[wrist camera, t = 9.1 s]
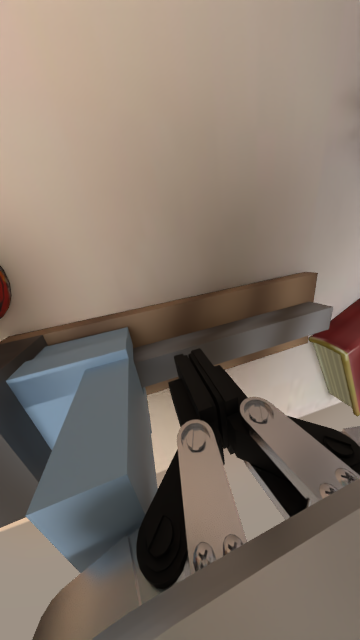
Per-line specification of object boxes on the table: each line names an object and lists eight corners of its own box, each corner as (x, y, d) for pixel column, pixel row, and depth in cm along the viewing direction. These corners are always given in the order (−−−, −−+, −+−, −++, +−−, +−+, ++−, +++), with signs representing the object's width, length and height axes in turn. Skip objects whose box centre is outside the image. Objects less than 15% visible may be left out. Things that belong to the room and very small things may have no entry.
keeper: (126, 324, 11) (120, 460, 4) (146, 392, 14) (169, 568, 6) (43, 343, 10) (-214, 590, 3) (79, 414, 12) (-2, 662, 5)
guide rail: (304, 272, 16) (406, 278, 10) (296, 337, 18) (374, 373, 13) (8, 336, 11) (-129, 422, 5) (53, 414, 14) (-5, 529, 8)
